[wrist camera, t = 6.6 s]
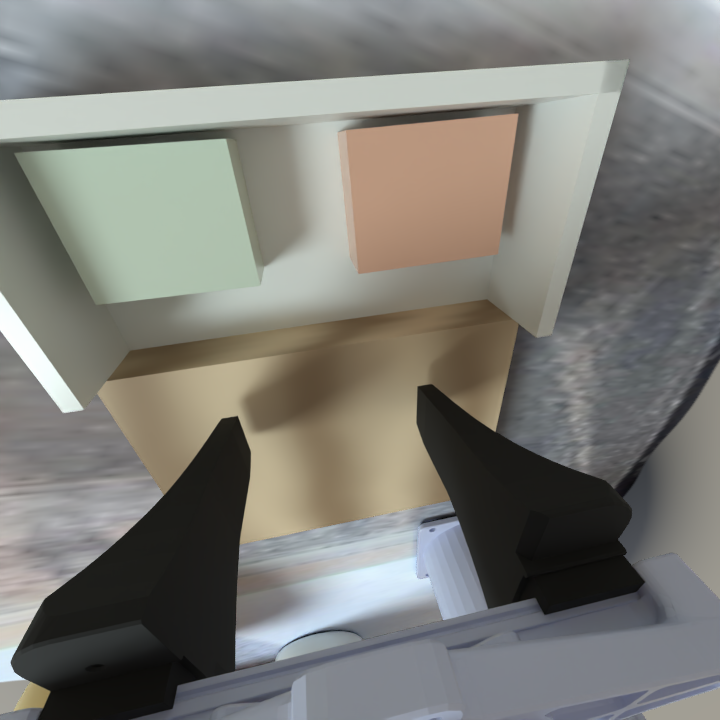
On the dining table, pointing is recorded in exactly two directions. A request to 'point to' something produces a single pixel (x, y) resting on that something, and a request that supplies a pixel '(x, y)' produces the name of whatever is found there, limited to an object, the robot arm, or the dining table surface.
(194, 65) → the dining table surface
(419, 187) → the tile
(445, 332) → the board
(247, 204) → the tile
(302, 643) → the fruit juice
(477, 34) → the dining table surface
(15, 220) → the tray
